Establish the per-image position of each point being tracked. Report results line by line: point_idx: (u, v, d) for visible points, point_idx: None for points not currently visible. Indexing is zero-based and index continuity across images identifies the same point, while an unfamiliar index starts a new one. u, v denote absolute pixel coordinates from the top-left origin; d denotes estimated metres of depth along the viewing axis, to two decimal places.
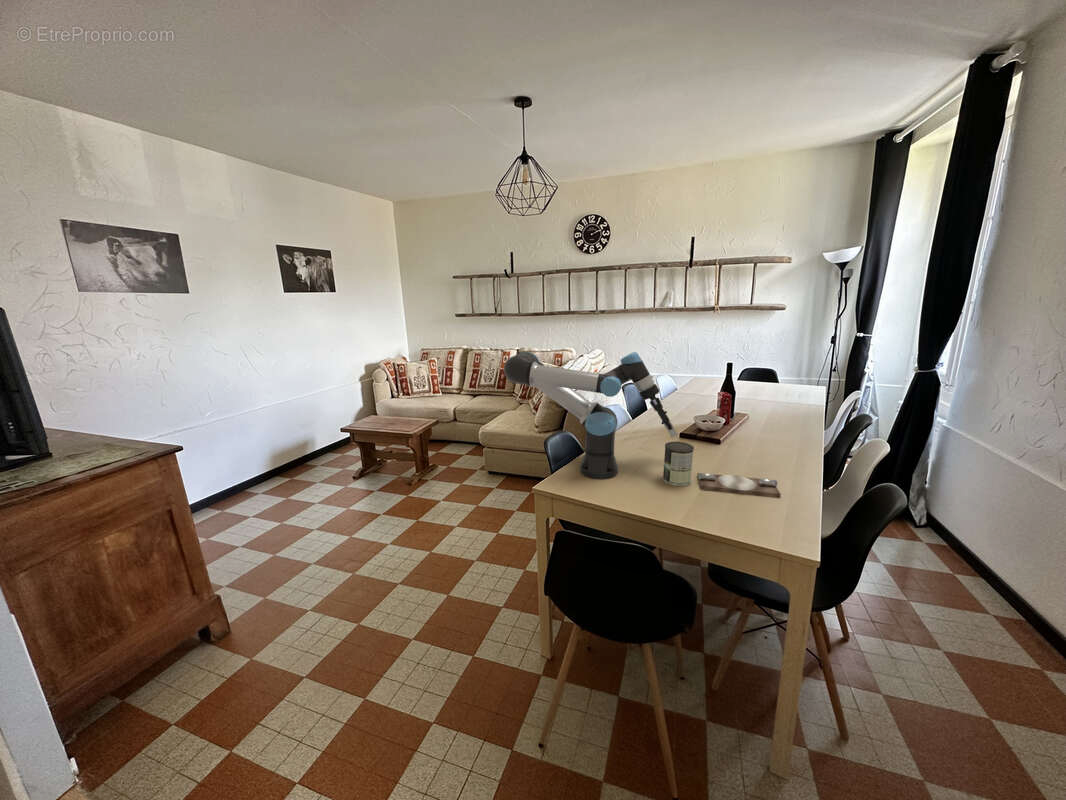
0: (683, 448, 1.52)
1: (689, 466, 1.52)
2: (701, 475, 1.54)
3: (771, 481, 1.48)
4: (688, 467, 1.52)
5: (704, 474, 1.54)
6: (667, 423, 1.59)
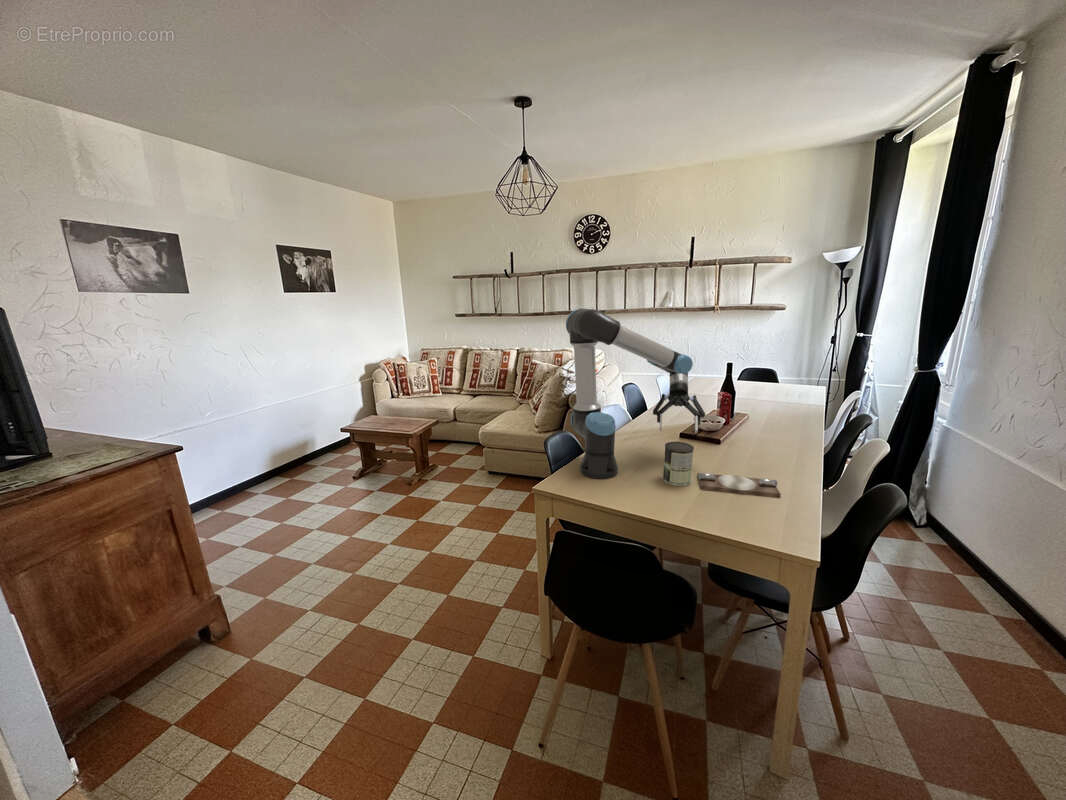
0: (683, 448, 1.52)
1: (689, 466, 1.52)
2: (701, 475, 1.54)
3: (771, 481, 1.48)
4: (688, 467, 1.52)
5: (704, 474, 1.54)
6: None
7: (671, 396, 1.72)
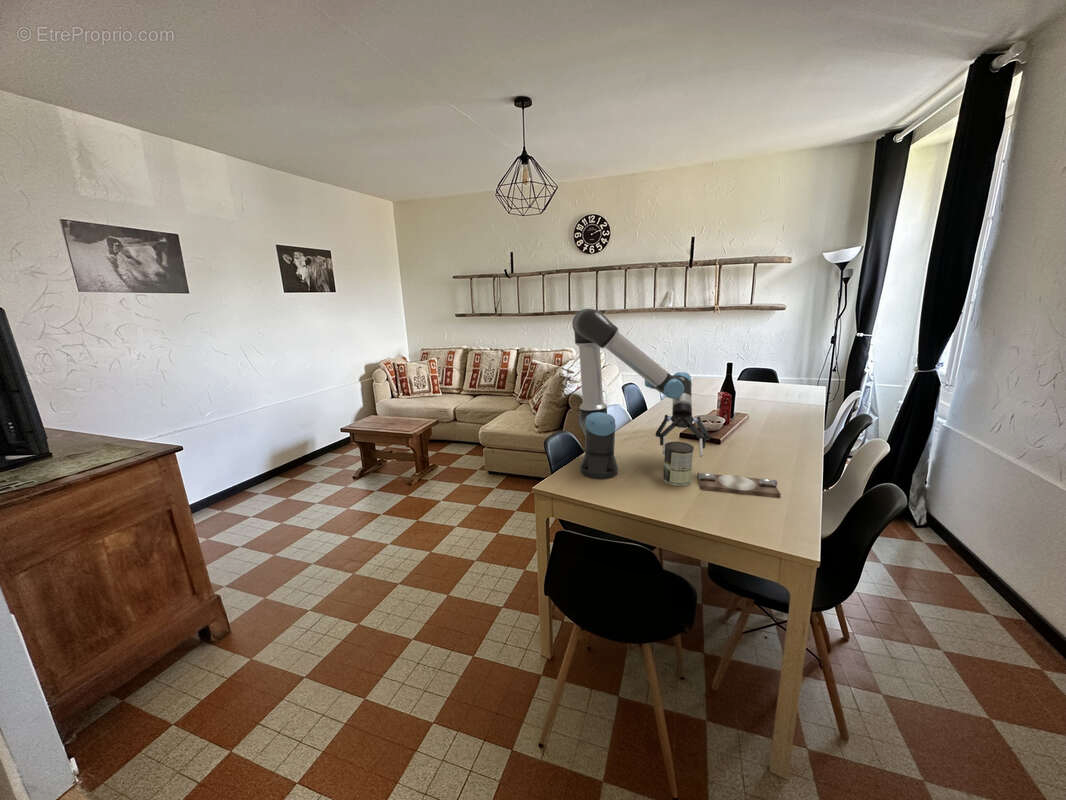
0: (683, 448, 1.52)
1: (689, 466, 1.52)
2: (701, 475, 1.54)
3: (771, 481, 1.48)
4: (688, 467, 1.52)
5: (704, 474, 1.54)
6: None
7: (674, 417, 1.66)
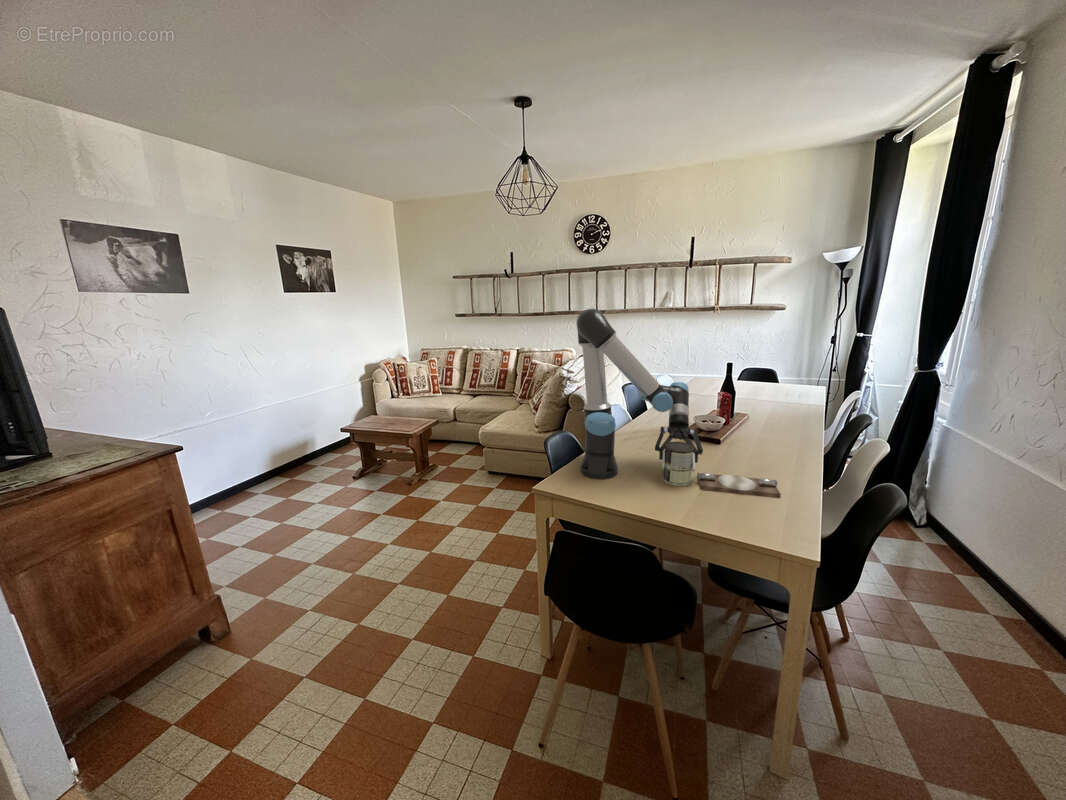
0: (683, 448, 1.52)
1: (689, 466, 1.52)
2: (701, 475, 1.54)
3: (771, 481, 1.48)
4: (688, 467, 1.52)
5: (704, 474, 1.54)
6: (697, 455, 1.55)
7: (671, 428, 1.62)
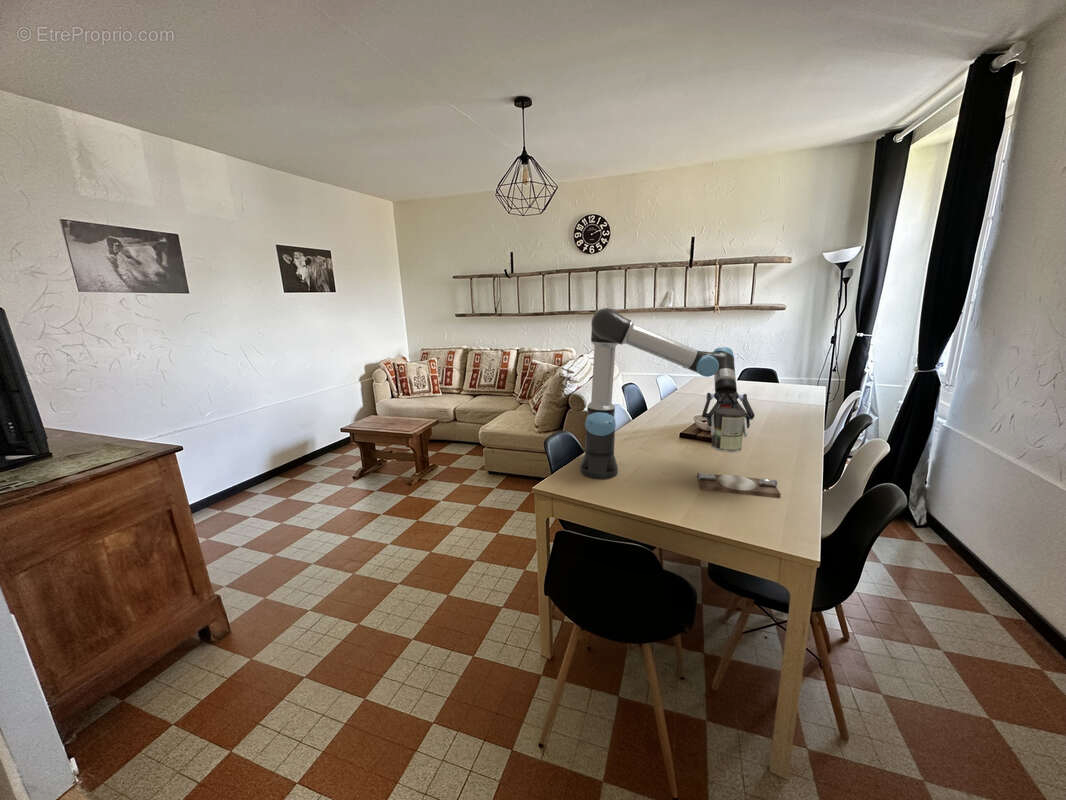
0: (734, 412, 1.45)
1: (741, 431, 1.45)
2: (701, 475, 1.54)
3: (771, 481, 1.48)
4: (740, 432, 1.45)
5: (704, 474, 1.54)
6: None
7: (718, 394, 1.54)
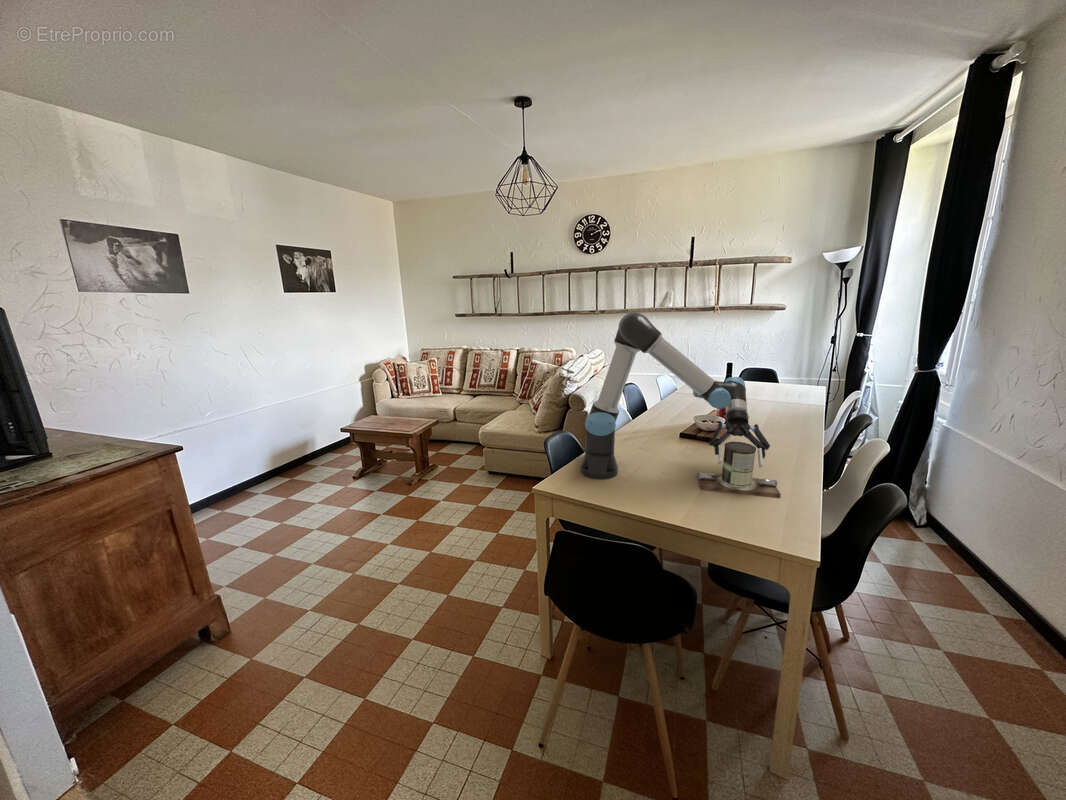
0: (745, 449, 1.46)
1: (751, 467, 1.46)
2: (701, 475, 1.54)
3: (771, 481, 1.48)
4: (750, 468, 1.46)
5: (704, 474, 1.54)
6: None
7: (729, 425, 1.55)
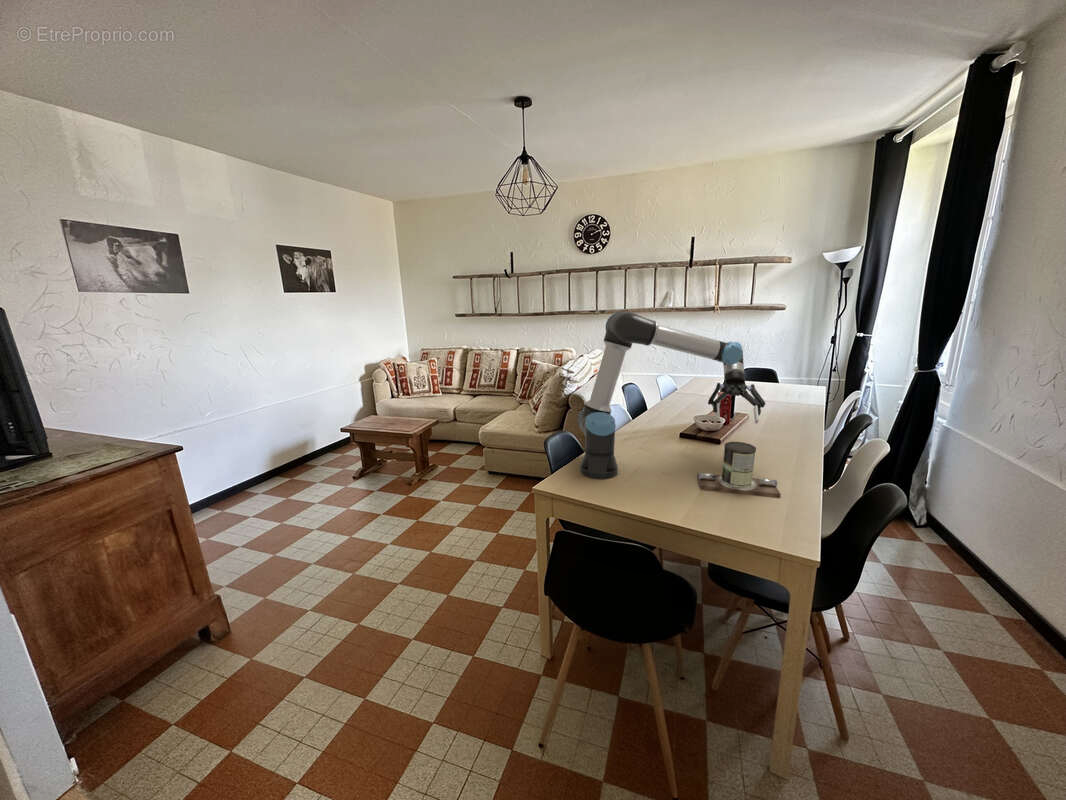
0: (745, 449, 1.46)
1: (751, 467, 1.46)
2: (701, 475, 1.54)
3: (771, 481, 1.48)
4: (750, 468, 1.46)
5: (704, 474, 1.54)
6: None
7: (727, 385, 1.64)
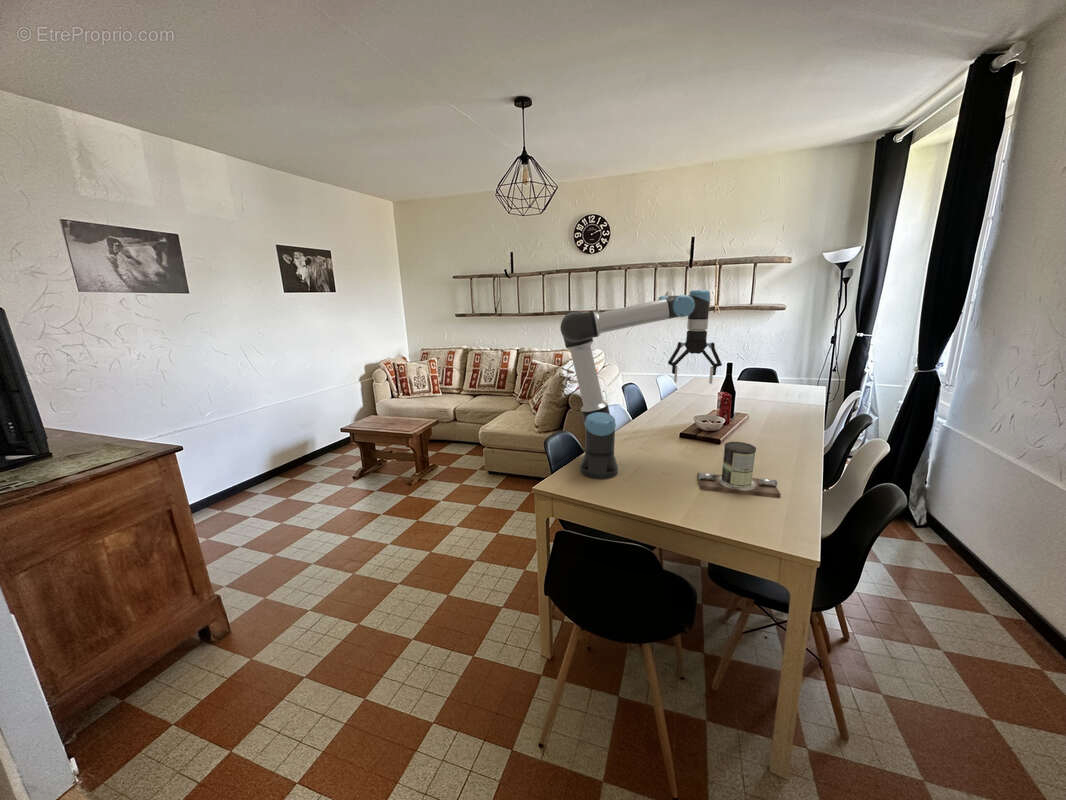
0: (745, 449, 1.46)
1: (751, 467, 1.46)
2: (701, 475, 1.54)
3: (771, 481, 1.48)
4: (750, 468, 1.46)
5: (704, 474, 1.54)
6: None
7: (688, 345, 1.64)
